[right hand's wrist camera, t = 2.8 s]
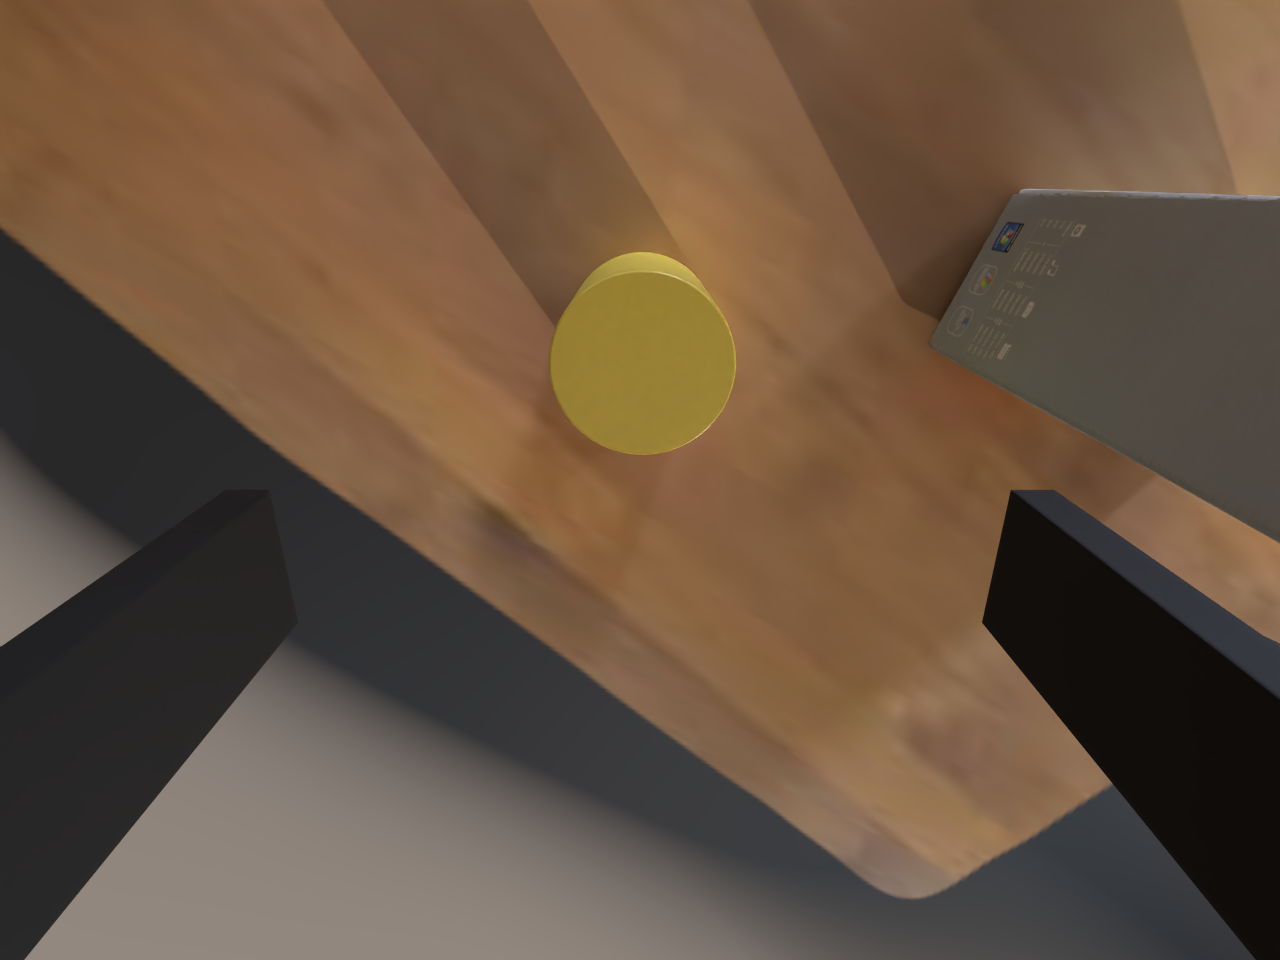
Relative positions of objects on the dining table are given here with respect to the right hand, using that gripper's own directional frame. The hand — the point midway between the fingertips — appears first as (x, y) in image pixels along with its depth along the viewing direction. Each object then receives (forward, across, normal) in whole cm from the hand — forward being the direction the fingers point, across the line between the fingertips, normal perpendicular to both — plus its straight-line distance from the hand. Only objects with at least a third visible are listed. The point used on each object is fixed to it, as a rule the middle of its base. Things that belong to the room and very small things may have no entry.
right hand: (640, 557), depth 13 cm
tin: (+22, 0, 0) cm, 22 cm away
